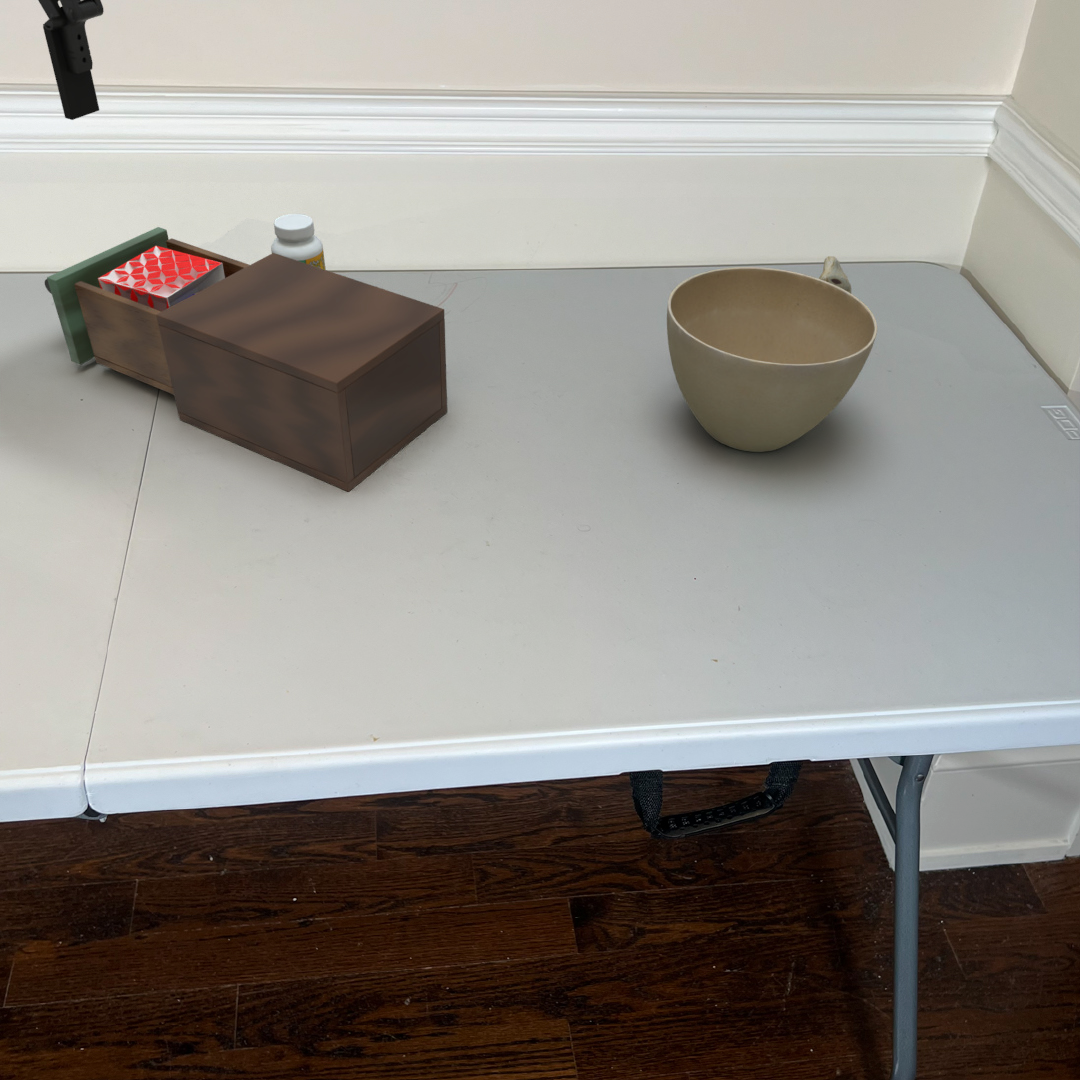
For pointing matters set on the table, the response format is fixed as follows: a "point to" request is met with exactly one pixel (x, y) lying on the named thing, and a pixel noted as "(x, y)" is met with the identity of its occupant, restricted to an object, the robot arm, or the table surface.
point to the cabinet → (307, 367)
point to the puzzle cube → (162, 277)
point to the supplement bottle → (298, 240)
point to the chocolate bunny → (835, 274)
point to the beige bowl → (765, 352)
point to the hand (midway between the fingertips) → (31, 99)
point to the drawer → (118, 311)
